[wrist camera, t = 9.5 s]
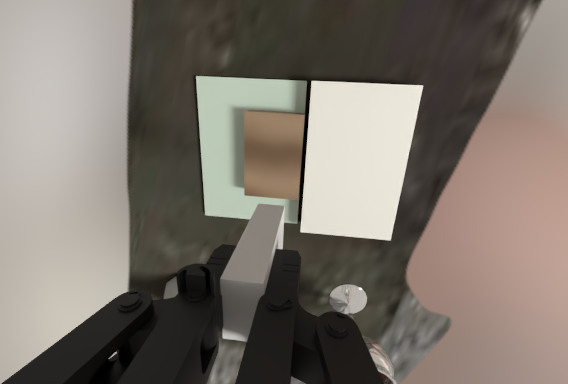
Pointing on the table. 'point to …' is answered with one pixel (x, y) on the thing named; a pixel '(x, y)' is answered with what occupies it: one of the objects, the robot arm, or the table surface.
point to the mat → (238, 138)
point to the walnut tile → (273, 153)
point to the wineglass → (351, 302)
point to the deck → (357, 157)
